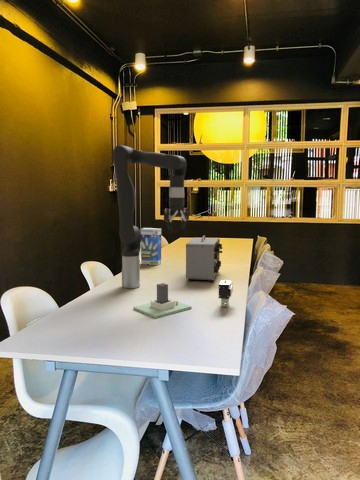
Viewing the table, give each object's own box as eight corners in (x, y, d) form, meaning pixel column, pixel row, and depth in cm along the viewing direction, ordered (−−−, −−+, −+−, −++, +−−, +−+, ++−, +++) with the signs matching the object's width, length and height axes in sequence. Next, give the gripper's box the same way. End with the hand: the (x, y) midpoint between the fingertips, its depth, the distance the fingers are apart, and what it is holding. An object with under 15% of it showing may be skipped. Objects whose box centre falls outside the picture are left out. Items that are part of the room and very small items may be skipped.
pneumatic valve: (217, 309, 162) (218, 282, 160) (221, 302, 173) (221, 276, 171) (230, 310, 160) (231, 283, 159) (233, 302, 172) (233, 277, 170)
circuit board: (155, 318, 150) (155, 310, 150) (133, 309, 162) (133, 301, 162) (191, 308, 163) (191, 300, 163) (168, 300, 175) (168, 293, 175)
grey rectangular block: (161, 308, 160) (161, 285, 159) (156, 306, 163) (156, 284, 162) (168, 306, 162) (167, 284, 161) (163, 304, 165) (163, 283, 164)
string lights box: (140, 264, 266) (140, 228, 262) (145, 262, 273) (144, 227, 270) (158, 265, 262) (157, 229, 258) (161, 263, 269) (161, 228, 266)
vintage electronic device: (217, 283, 209) (217, 239, 206) (185, 281, 213) (185, 238, 210) (222, 271, 240) (222, 233, 237) (194, 270, 244) (194, 233, 241)
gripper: (183, 196, 191) (182, 227, 193) (160, 196, 182) (160, 229, 184) (192, 196, 185) (192, 229, 187) (170, 196, 176) (169, 230, 178)
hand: (176, 229), depth 186 cm, fingers open, 8 cm apart
